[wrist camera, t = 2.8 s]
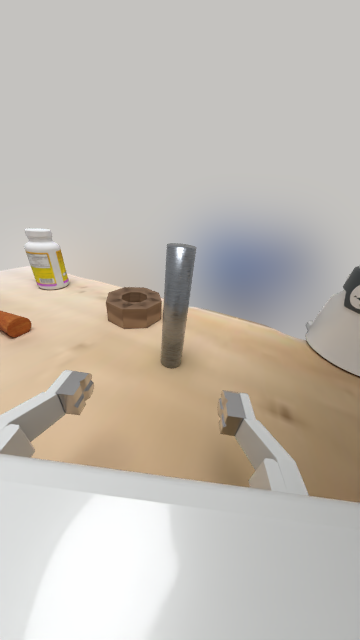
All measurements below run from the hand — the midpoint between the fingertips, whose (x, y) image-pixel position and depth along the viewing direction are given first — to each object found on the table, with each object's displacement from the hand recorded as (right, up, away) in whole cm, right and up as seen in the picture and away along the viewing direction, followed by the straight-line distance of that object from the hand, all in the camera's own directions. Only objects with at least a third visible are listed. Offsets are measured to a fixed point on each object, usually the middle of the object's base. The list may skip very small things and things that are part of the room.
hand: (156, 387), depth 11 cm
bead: (-8, +5, +26) cm, 27 cm away
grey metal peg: (0, -2, +15) cm, 15 cm away
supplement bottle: (-31, +13, +34) cm, 48 cm away
